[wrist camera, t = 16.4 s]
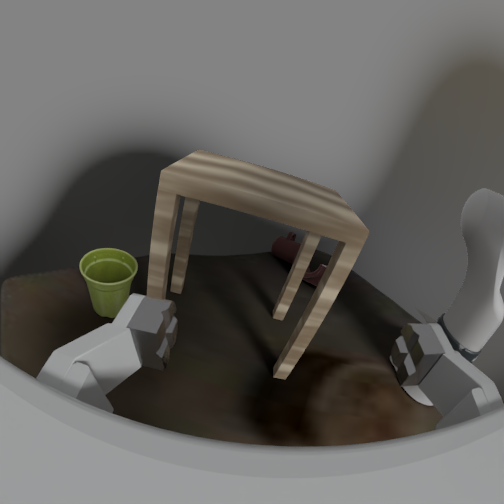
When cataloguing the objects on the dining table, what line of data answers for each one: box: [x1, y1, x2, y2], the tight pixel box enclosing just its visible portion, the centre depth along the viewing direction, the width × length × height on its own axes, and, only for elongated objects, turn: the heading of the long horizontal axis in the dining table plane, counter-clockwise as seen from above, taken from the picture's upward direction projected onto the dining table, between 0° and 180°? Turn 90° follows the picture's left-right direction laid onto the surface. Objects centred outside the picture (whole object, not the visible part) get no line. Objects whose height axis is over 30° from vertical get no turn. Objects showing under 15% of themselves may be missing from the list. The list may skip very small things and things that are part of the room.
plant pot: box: [79, 248, 138, 318], centre depth 39 cm, size 9×9×9 cm
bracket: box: [272, 232, 327, 286], centre depth 67 cm, size 6×17×10 cm, turn 42°
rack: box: [147, 150, 369, 379], centre depth 39 cm, size 16×22×26 cm
